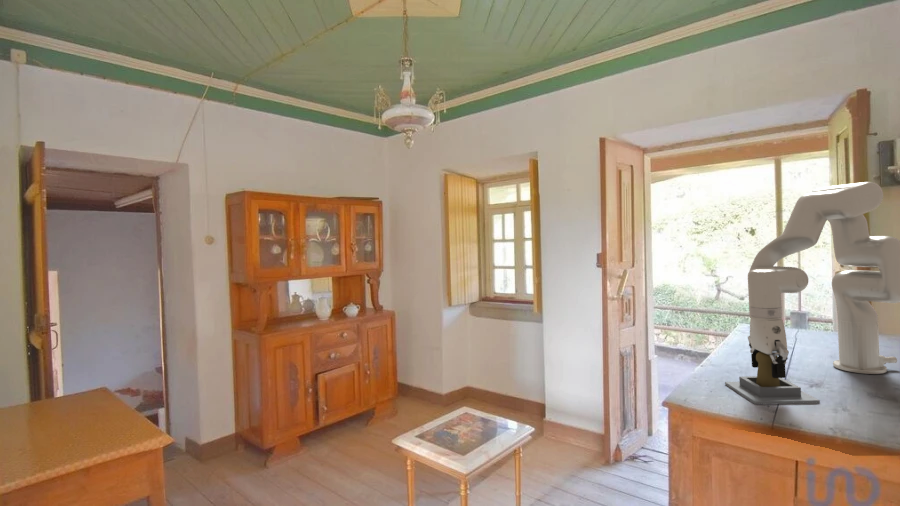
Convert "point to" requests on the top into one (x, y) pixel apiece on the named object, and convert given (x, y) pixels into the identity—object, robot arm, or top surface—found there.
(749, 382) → the bay base
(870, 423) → the top surface
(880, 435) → the top surface
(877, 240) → the robot arm
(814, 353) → the top surface
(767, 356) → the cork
